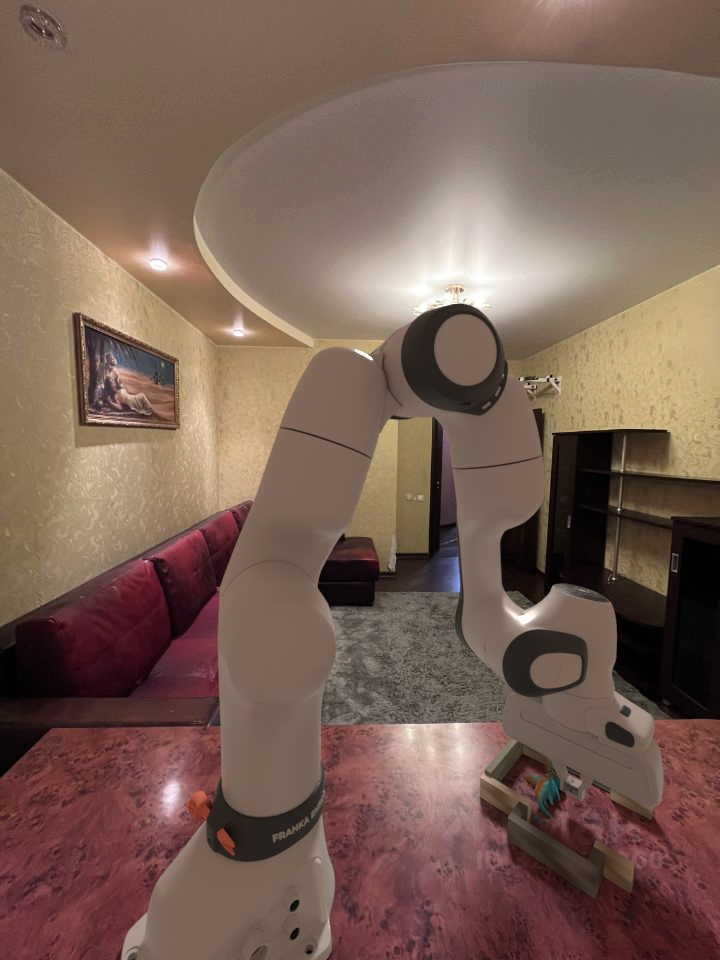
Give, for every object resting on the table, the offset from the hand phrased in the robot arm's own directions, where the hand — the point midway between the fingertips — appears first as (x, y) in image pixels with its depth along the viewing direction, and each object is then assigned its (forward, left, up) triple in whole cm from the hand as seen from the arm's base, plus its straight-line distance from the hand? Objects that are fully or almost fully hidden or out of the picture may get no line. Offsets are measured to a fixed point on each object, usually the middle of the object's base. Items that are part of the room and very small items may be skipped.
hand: (572, 793), depth 58 cm
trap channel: (0, +1, -3) cm, 3 cm away
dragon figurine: (-1, +3, -3) cm, 5 cm away
